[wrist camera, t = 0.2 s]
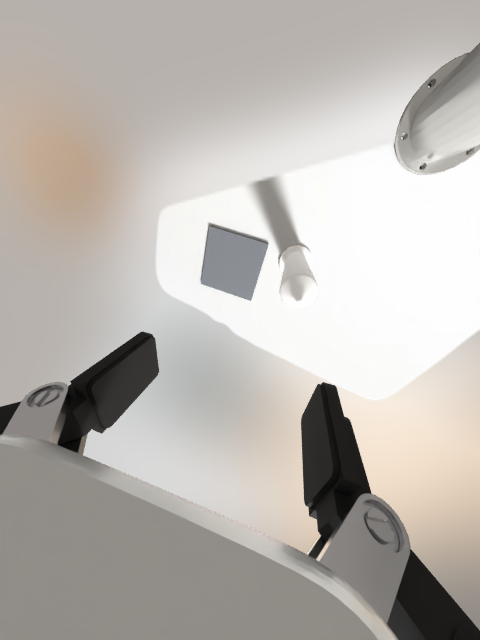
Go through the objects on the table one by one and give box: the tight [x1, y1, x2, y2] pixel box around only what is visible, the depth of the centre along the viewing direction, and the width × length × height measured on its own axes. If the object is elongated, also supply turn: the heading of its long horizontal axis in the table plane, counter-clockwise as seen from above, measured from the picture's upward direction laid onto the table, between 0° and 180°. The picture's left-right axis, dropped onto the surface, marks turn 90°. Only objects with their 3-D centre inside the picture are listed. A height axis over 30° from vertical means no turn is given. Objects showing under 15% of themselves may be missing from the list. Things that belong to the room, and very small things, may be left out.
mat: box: [201, 226, 268, 301], centre depth 44 cm, size 14×14×1 cm
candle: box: [279, 245, 318, 309], centre depth 30 cm, size 7×7×25 cm
